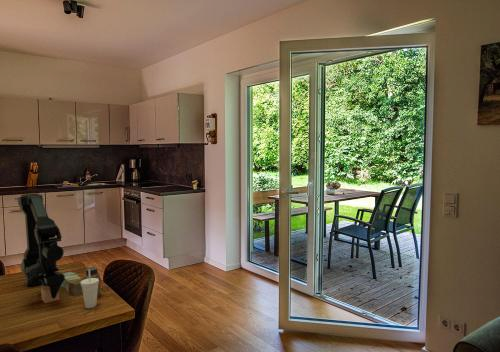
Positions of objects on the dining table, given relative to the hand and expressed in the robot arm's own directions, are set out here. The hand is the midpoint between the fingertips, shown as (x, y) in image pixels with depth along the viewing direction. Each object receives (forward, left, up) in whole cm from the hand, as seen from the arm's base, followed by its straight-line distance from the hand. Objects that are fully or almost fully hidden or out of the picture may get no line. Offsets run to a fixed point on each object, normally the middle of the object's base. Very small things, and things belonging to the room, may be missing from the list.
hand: (50, 294), depth 145 cm
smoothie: (+18, +9, -2) cm, 20 cm away
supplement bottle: (+9, +13, -2) cm, 16 cm away
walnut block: (+1, +10, -2) cm, 10 cm away
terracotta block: (0, 0, -2) cm, 2 cm away
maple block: (-5, +10, -2) cm, 11 cm away
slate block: (-11, +10, -2) cm, 15 cm away
